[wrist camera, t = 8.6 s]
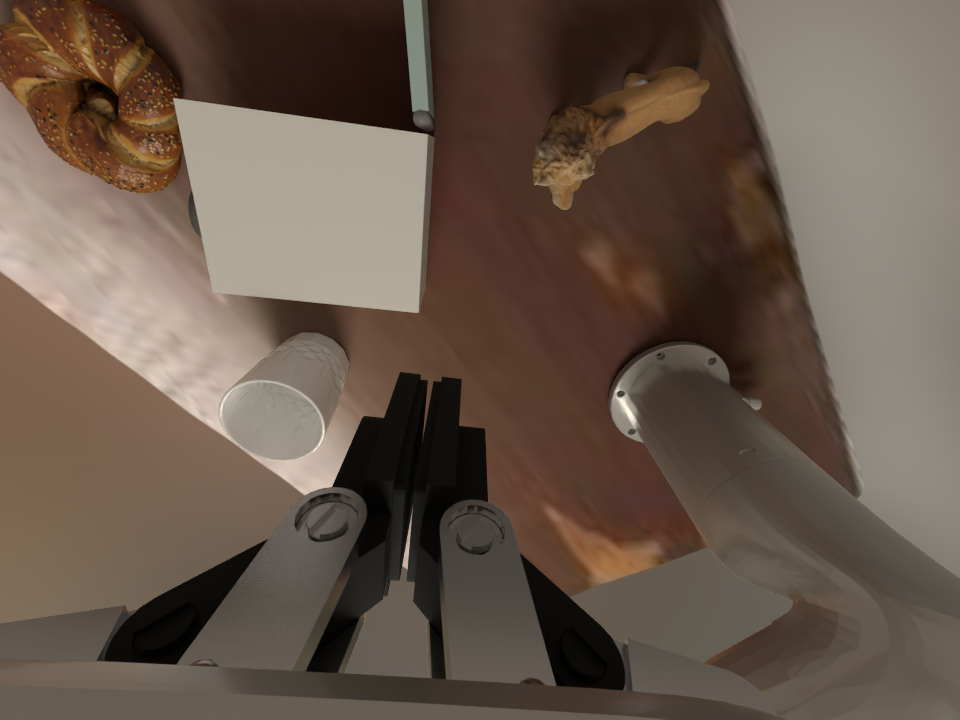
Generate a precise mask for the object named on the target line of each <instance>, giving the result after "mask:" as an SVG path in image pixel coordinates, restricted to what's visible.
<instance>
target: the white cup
mask: <svg viewBox="0 0 960 720" xmlns="http://www.w3.org/2000/svg"><path fill="white" fill-rule="evenodd" d="M348 369H349V361H348V359H347V356H346V354H345V351H344V350H343V349H342V348H341V347H340V346H339V345H338V344H337V343H336V342H335V341H334V340H333V339H331V338H329V337H327V336H324V335H322V334H320V333H311V332H301V333H299V334H297V335H294V336H292V337H290V338H288V339H287V340H286V341H284V342H283V343H282V344H281V345H280V346H279V347H278V348H276V349H275V350H273V351H272V352H271V353H270V354H268V355H267V356H266V357H265V358H264V359H262V360H261V361H260V362H259V363H258V364H257V365H256V366H255V367H253V368H252V369H251V370H250V371H249V372H248V373H247V374H246V375H245V376H244V377H242V378H241V379H240V380H239V381H238V382H237V383H236V384H235V385H234V386H232V387H231V388H230V389H229V390H228V391H227V392H226V393H225V394H224V396H223V397H222V399H221V402H220V405H219V418H220V422H221V425H222V427H223V429H224V430H225V432H226V434H227V435H228V436H229V437H230V438H231V440H232V441H233V442H235V443H236V444H237V445H238V446H239V447H241V448H242V449H244V450H245V451H247V452H249V453H251V454H253V455H255V456H258V457H261V458H264V459H269V460H275V461H291V460H297V459H300V458H303V457H306V456H308V455H309V454H311V453H313V452H314V451H315V450H316V449H317V448H318V447H319V446H320V444H321V443H322V441H323V438H324V436H325V433H326V431H327V428H328V426H329V424H330V421H331V419H332V416H333V414H334V411H335V409H336V407H337V404H338V401H339V398H340V396H341V393H342V390H343V387H344V383H345V381H346V379H347V376H348Z"/></svg>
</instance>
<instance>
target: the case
mask: <svg viewBox="0 0 960 720" xmlns="http://www.w3.org/2000/svg"><path fill="white" fill-rule="evenodd" d="M173 100H174V105H175V110H176V115H177V120H178V124H179V129H180V134H181V139H182V144H183V149H184V154H185V158H186V163H187V168H188V173H189V178H190V183H191V188H192V191H191V194H190V197H189V216H190V220H191V223H192V226H193V228H194V230H195V231H196V233H197V234H198V235H199V236H200V237H201V238H202V241H203V246H204V251H205V256H206V260H207V265H208V270H209V275H210V280H211V285H212V290H213V292H214V293H224V294H234V295H244V296H254V297H264V298H274V299H284V300H294V301H304V302H314V303H324V304H334V305H344V306H354V307H364V308H374V309H384V310H394V311H404V312H414V313H419V309H420V306H421V302H422V298H423V295H424V291H425V287H426V273H427V256H428V239H429V222H430V205H431V189H432V172H433V155H434V138H435V137H432V136H430V135H428V134H422V133H415V132H408V131H401V130H394V129H387V128H380V127H373V126H366V125H359V124H352V123H345V122H338V121H331V120H324V119H317V118H310V117H303V116H296V115H289V114H282V113H275V112H268V111H261V110H254V109H247V108H240V107H233V106H226V105H219V104H212V103H205V102H198V101H191V100H184V99H177V98H173Z"/></svg>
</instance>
